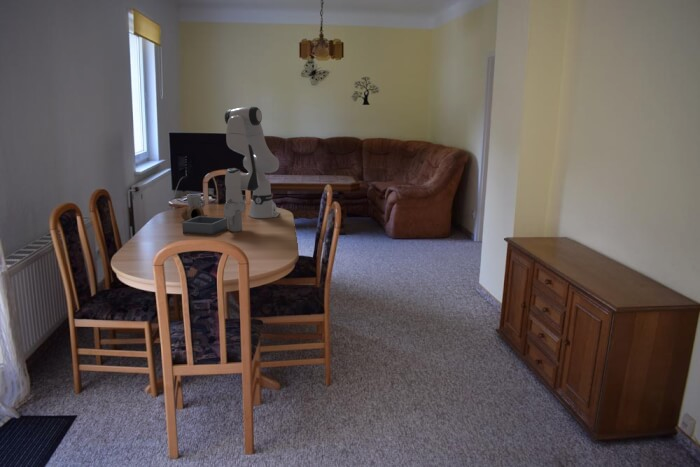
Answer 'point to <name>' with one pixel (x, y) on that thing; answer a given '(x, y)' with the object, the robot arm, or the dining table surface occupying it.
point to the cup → (195, 200)
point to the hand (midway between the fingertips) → (235, 222)
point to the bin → (205, 225)
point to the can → (236, 222)
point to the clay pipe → (192, 212)
